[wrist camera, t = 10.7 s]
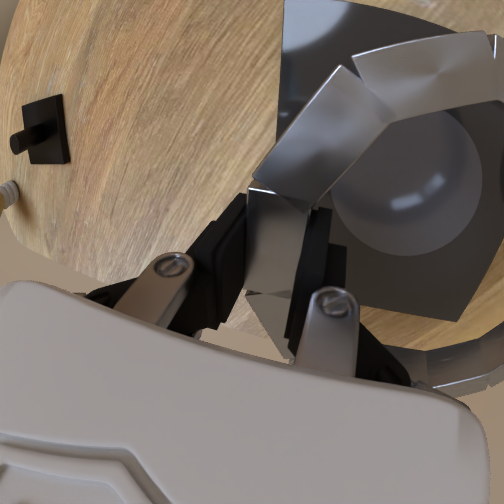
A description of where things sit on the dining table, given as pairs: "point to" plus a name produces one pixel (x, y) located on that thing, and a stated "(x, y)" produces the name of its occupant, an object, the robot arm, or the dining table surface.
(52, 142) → the ring stand
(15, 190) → the light bulb
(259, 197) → the steel ring
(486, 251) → the hob plate
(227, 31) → the dining table surface
